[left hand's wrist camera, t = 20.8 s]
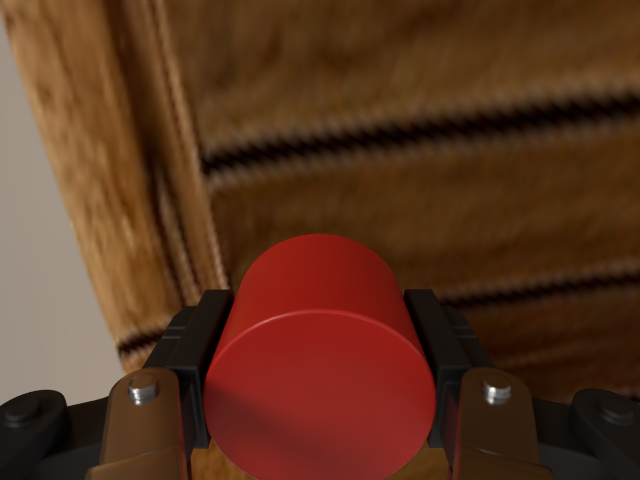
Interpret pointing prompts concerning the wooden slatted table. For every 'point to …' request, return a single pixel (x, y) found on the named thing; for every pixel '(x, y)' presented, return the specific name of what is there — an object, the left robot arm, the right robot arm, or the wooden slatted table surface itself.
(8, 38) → the wooden slatted table surface
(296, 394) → the tin
